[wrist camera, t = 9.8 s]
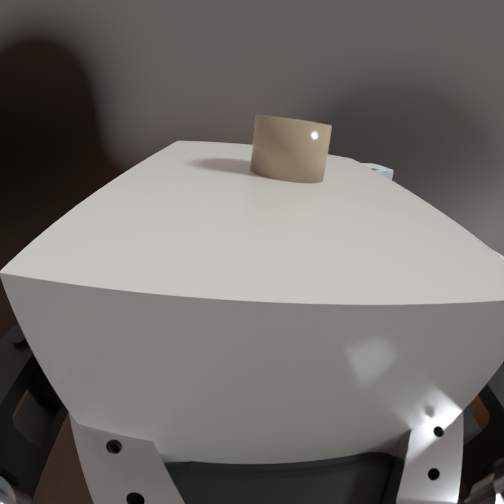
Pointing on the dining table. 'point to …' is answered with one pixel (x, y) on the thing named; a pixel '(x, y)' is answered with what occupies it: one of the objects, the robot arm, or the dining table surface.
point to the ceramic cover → (260, 303)
